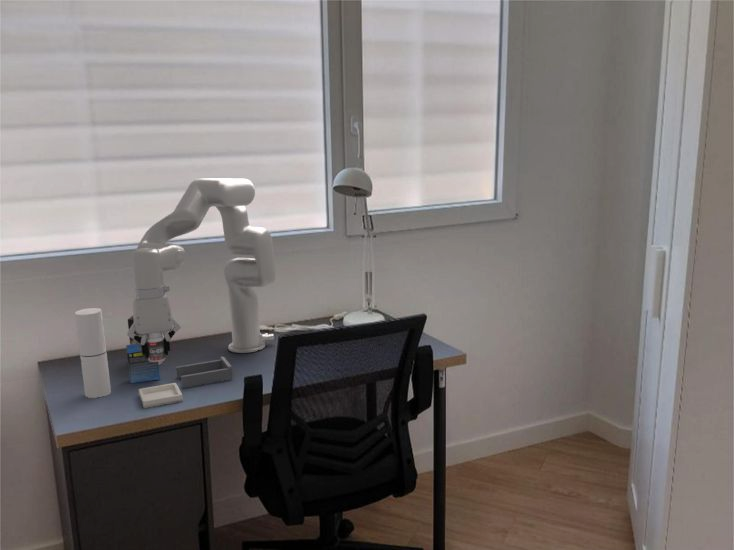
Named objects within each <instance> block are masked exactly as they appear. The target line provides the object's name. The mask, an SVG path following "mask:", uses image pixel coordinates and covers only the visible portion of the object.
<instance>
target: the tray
mask: <svg viewBox="0 0 734 550" xmlns="http://www.w3.org/2000/svg"><path fill="white" fill-rule="evenodd" d="M138 396H139V399H140V401H142V402H141V403H142V406H143V409H149V407H150V408H155V407H160V405H161V406H165V404H166V405H171V404H177V403H182V402H183V400H184V399H183V393H182V391H181V390H180V388H179V386H178V384H177V382H172V383H166V384H161V385H156V386H155V385H154V386H149V387H142V388H138ZM154 406H155V407H154Z"/></svg>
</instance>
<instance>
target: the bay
mask: <svg viewBox="0 0 734 550" xmlns="http://www.w3.org/2000/svg"><path fill="white" fill-rule="evenodd" d="M232 369H233V368H232V365H231V364H230V363H229V361H228V360H227V359H226V358H225V356H220V359H216V360H215V359H214V360H209V361H201V362H198V363H191V364H185V365H179V366H175V372H176V373H175V375H176V376H175V377H176V379H177V378H178V379H180V380H181V388H182V389H186V387H187V388H193V387H197V386H203V385H202V384H204V385H209V384H213V382H215V383H219V382H218V381H221V382H223V381H222V380H226V381H229V380H228V379H232V380H233V370H232ZM208 383H209V384H208Z"/></svg>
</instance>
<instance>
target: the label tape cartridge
mask: <svg viewBox="0 0 734 550" xmlns="http://www.w3.org/2000/svg"><path fill="white" fill-rule="evenodd" d="M125 345H126V358H127V364H128V365H127V366H128V373H129V374H128V375H129V383H130V384H131V383H132V384H137V382H138V383H142V382H151V381H157V380H158V381H159V380H161V371H160V370H161V369H160V365H159V362H150V361H149V360H148V358H145V355H142V349H137V348H138V347H141V344H133V345H130V344H125Z"/></svg>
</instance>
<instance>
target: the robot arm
mask: <svg viewBox="0 0 734 550" xmlns="http://www.w3.org/2000/svg"><path fill="white" fill-rule="evenodd" d="M255 188H256V187H255V186H254V184H253V182H252V181H251V180H250V179H247V178H227V177H226V178H223V177H222V178H219V177H218V178H217V177H216V178H215V177H214V178H213V177H212V178H211V177H210V178H207V177H206V178H197V179H194V180H193V181H191V182H190V184H189V185H188V186H187V189H186V190H185V192H184V194H183V195H182V197H181V199H180V200H179V202H178V204H177V205H176V206H175V208H174V210H173V212H171V213H170V214H167V215H166V216H164V217H163V218H161V219H160V220H159V221H157V222H156V223H154V224H153V225H152V226H150V227H149V229H148V230H147V231H146V232H145V233H144V235H143V237H142V238H141V239H140V241H139V243H138V245H137V248H136V249H135V250H134V251H132V256H131V257H132V258H131V259H132V267H133V277H134V286H135V294H136V295H135V296H136V297H134V298H133V300H132V302H133V303H132V316H133V322H134V323H133V324H132V326H131V327H130V329H129V328H128V331H127V332H126V336H127V337H131V338H133V339H135V340H136V341H137V342H139V343H140V344H141V348H142V355H145V358H149V357H148V347H147V343H146V336H147V334H151V333H157V332H162V336H163V338H164V348H165V356H169V352H170V351H171V348H170V347H171V345H170V341H171V339H172V338H173V336H175V334H176V333H177V332H178V331H179V330H180V329H181V326H180V324H179V323H178V322H177V321H176V320H175V319H174V318H173V316H172V311H171V306H170V301H169V297H168V295H167V294H166V293H168V292H170V290H171V289H170V286H165V285H164V276H163V275H164V274H163V273H164V272H167V271H168V272H169V271H176V270H179V269H180V268H181V267H183V265H184V264H185V263H186V261H187V253H186V250H185V249H184V247H183V246H181V245H180V244H176V243H167V242H169V241H171V240H172V239H175V238H177V237H180V236H183V235H187V234H189V233H191V232H194V231H196V230H197V229H199V227H200V226H201V224H202V222H203V220H204V218H205V217H206V215H207V213H208V212H209V210H210V208H211V207H212V208H213V207H215V208H216V209H217V211H219V214H220V216H221V221H222V229H223V236H224V245H225V247H226V250H227V252H228V253H229V254H232V255H237V256H240V255H241V256H253V257H254V258H252V257H234V258H230V259H229V260H227V261H226V263H225V265H224V268H223V269H224V270H223V274H224V275H223V276H224V278H225V283H226V286H227V291H228V292H227V293H228V298H229V299H228V300H229V312H230V324H231V338H232V342H231V343H229V344H228V350H229V351H230V352H232V353H237V354H246V353H254V352H258V350H259V351H261V350H263V349H264V348H265V347H266V341H270V340H275V336H274V333H270V334H269V333H267V332H266V333H261V331H260V330H261V328H260V316H259V315H260V313H259V312H260V311H259V301H258V293H256V290H255V288H269V287H271V286H272V285H273V284H274V283H275V280H276V277H277V276H276V275H277V273H276V272H277V271H276V261H275V260H276V259H275V251H274V243H273V241H274V240H273V238H272V235H271V233H270V231H269V230H268V229H266V228H265V227H262V226H261V227H260V226H251V225H250V223H249V222H250V221H249V217H248V211H247V208H246V206H248V205H250V204H252V203H253V201H254V199H255V195H256V189H255ZM135 330H136V333H137V334H139V335H140V337H139V336H138V335H136V334H134V331H135Z"/></svg>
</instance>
